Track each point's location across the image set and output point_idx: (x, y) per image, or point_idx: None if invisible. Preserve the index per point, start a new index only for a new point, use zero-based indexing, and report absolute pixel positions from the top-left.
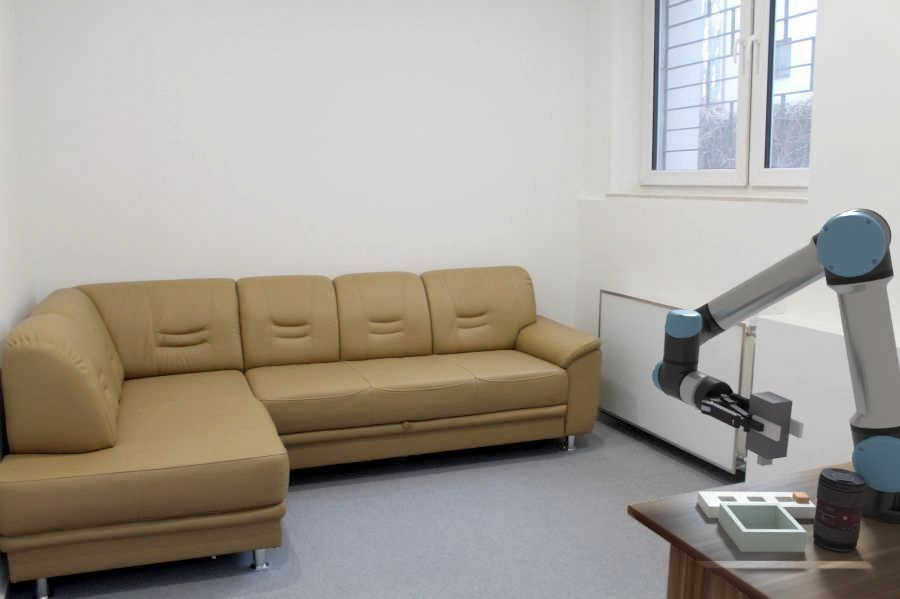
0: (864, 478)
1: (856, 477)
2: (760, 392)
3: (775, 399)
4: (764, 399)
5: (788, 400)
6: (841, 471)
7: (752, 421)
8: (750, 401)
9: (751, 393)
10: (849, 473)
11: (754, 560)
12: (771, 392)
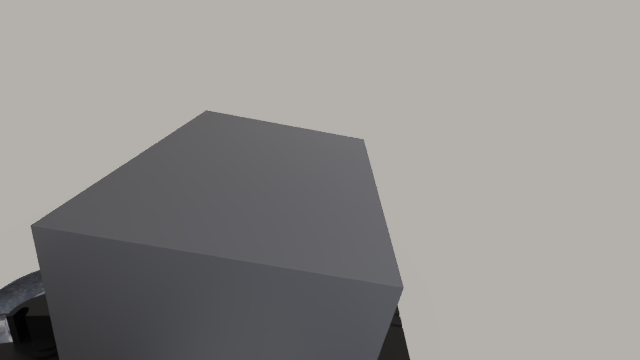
0: (36, 271)
1: (36, 287)
2: (210, 255)
3: (285, 145)
4: (370, 170)
5: (218, 118)
6: (7, 325)
7: (400, 338)
8: (371, 356)
9: (381, 286)
10: (4, 310)
11: None
12: (75, 199)
